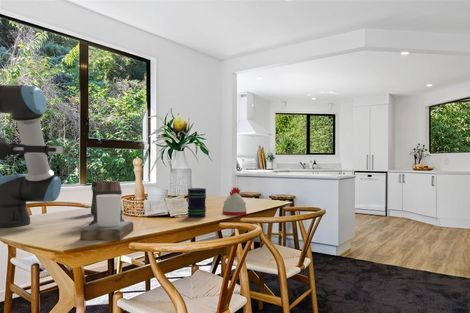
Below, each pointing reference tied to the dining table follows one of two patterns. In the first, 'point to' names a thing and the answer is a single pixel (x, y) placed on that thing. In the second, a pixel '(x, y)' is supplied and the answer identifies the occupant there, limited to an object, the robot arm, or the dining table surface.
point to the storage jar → (196, 202)
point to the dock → (106, 232)
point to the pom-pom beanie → (234, 204)
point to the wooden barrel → (94, 193)
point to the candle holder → (108, 210)
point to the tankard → (104, 189)
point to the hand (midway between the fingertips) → (51, 150)
